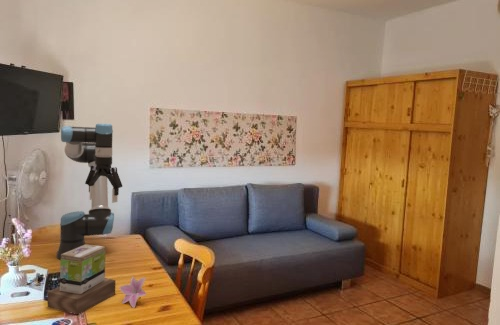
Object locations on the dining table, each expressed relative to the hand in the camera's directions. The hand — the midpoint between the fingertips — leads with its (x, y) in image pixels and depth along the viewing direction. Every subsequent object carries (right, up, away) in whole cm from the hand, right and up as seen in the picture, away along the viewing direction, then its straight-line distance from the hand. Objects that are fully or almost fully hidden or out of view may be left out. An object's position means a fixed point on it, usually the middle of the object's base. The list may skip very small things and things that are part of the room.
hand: (103, 200), depth 176 cm
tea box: (+3, -31, -28) cm, 42 cm away
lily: (+23, -38, -28) cm, 52 cm away
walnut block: (+3, -37, -28) cm, 46 cm away
